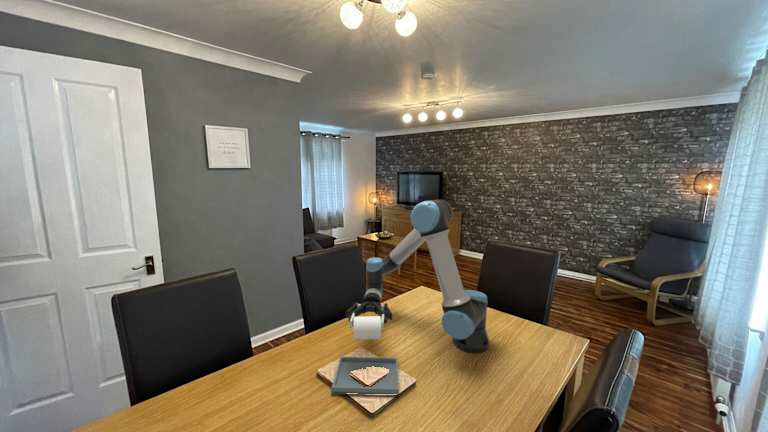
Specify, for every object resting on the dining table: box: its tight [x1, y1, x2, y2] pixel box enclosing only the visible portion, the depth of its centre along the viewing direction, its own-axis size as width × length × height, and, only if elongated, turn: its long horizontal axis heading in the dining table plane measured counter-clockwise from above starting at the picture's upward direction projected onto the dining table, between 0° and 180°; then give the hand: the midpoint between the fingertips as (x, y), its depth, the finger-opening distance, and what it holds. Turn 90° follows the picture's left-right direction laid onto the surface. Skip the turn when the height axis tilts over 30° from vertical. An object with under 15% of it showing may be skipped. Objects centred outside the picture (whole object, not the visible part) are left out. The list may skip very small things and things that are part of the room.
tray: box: [331, 355, 400, 396], centre depth 107 cm, size 22×17×2 cm
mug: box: [352, 315, 382, 341], centre depth 113 cm, size 12×10×8 cm
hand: (366, 325), depth 109 cm, fingers closed on mug, 11 cm apart
